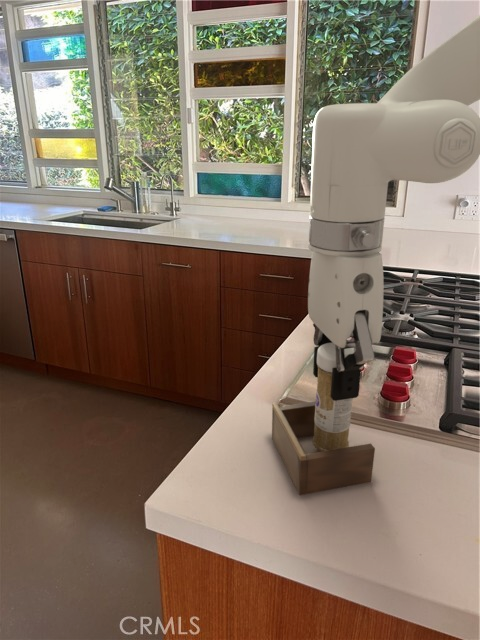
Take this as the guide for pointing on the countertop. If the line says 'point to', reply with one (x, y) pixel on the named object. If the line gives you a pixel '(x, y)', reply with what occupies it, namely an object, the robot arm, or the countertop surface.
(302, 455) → the u-shaped bracket
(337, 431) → the sprinkles bottle
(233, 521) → the countertop surface
